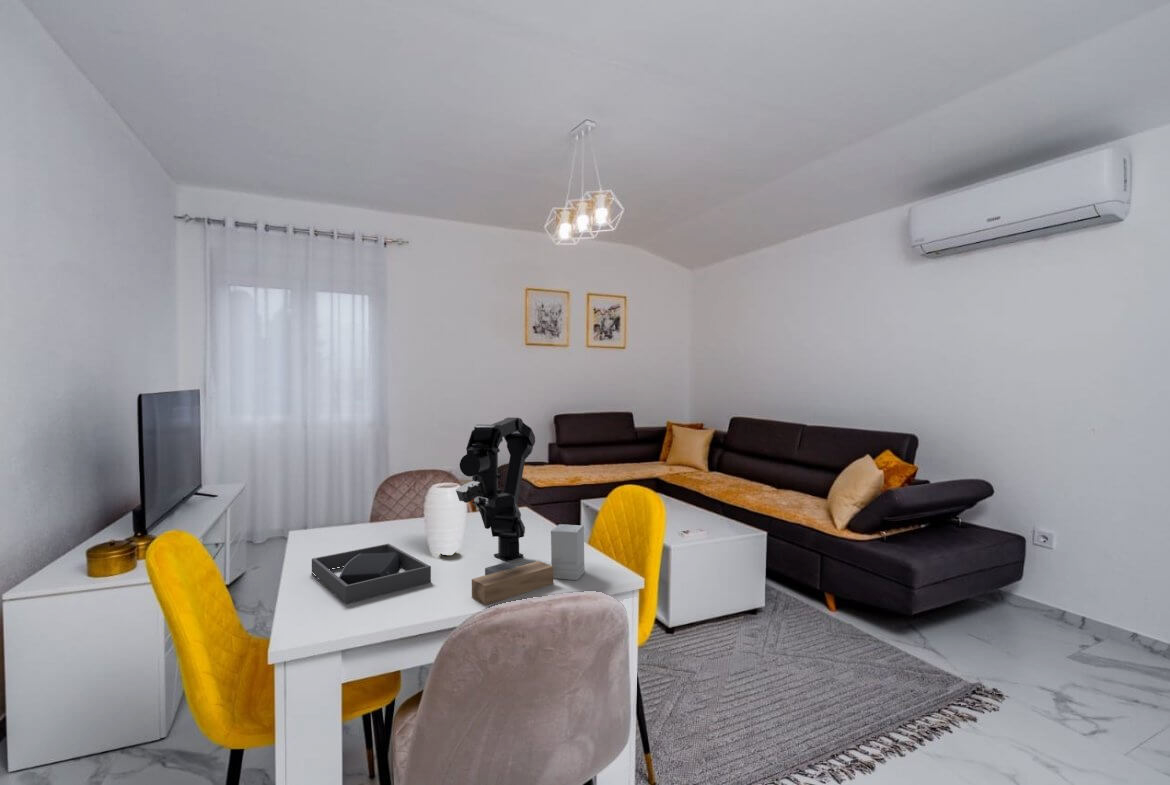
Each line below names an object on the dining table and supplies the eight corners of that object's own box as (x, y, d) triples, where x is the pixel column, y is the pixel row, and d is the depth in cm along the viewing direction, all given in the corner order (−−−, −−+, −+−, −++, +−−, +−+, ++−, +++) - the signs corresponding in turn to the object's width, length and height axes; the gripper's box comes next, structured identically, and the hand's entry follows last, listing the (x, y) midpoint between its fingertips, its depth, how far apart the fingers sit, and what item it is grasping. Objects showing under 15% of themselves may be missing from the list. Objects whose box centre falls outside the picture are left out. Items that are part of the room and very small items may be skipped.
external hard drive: (331, 591, 130) (331, 575, 130) (354, 566, 149) (354, 551, 149) (386, 589, 131) (386, 572, 131) (402, 564, 151) (402, 549, 151)
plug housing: (485, 584, 135) (484, 567, 135) (506, 578, 139) (506, 562, 139) (495, 589, 132) (495, 572, 132) (516, 583, 136) (516, 566, 136)
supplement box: (585, 571, 144) (585, 525, 144) (577, 580, 137) (577, 532, 137) (559, 569, 146) (559, 523, 146) (550, 578, 139) (550, 530, 139)
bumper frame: (311, 573, 144) (311, 558, 144) (388, 556, 158) (388, 543, 158) (345, 603, 123) (345, 586, 123) (430, 581, 137) (430, 566, 137)
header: (461, 591, 130) (461, 573, 130) (528, 572, 143) (528, 556, 143) (485, 605, 122) (484, 585, 122) (553, 583, 135) (553, 566, 135)
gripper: (443, 470, 145) (443, 527, 145) (478, 478, 131) (479, 541, 131) (479, 466, 152) (479, 520, 152) (516, 473, 138) (516, 533, 138)
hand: (487, 528), depth 143 cm, fingers closed
